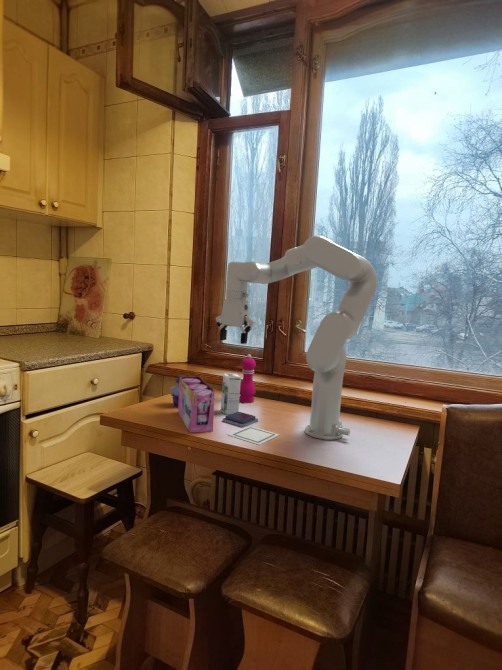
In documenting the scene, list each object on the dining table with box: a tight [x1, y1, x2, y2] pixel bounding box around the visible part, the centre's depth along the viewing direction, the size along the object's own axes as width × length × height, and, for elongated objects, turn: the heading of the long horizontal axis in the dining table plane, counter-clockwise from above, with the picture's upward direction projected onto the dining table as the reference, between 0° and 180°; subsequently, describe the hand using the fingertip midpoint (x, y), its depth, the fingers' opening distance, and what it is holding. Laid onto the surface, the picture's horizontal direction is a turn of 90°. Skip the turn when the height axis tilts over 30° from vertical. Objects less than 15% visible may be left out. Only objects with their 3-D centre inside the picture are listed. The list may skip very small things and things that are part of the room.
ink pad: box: [222, 411, 259, 428], centre depth 144 cm, size 9×9×2 cm
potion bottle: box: [170, 374, 187, 408], centre depth 159 cm, size 9×9×12 cm
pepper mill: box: [239, 353, 257, 404], centre depth 171 cm, size 7×7×20 cm
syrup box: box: [220, 372, 242, 415], centre depth 154 cm, size 6×6×14 cm
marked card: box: [228, 425, 280, 446], centre depth 131 cm, size 12×12×1 cm
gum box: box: [177, 376, 215, 433], centre depth 140 cm, size 24×8×14 cm, turn 20°
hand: (233, 341), depth 152 cm, fingers open, 9 cm apart
